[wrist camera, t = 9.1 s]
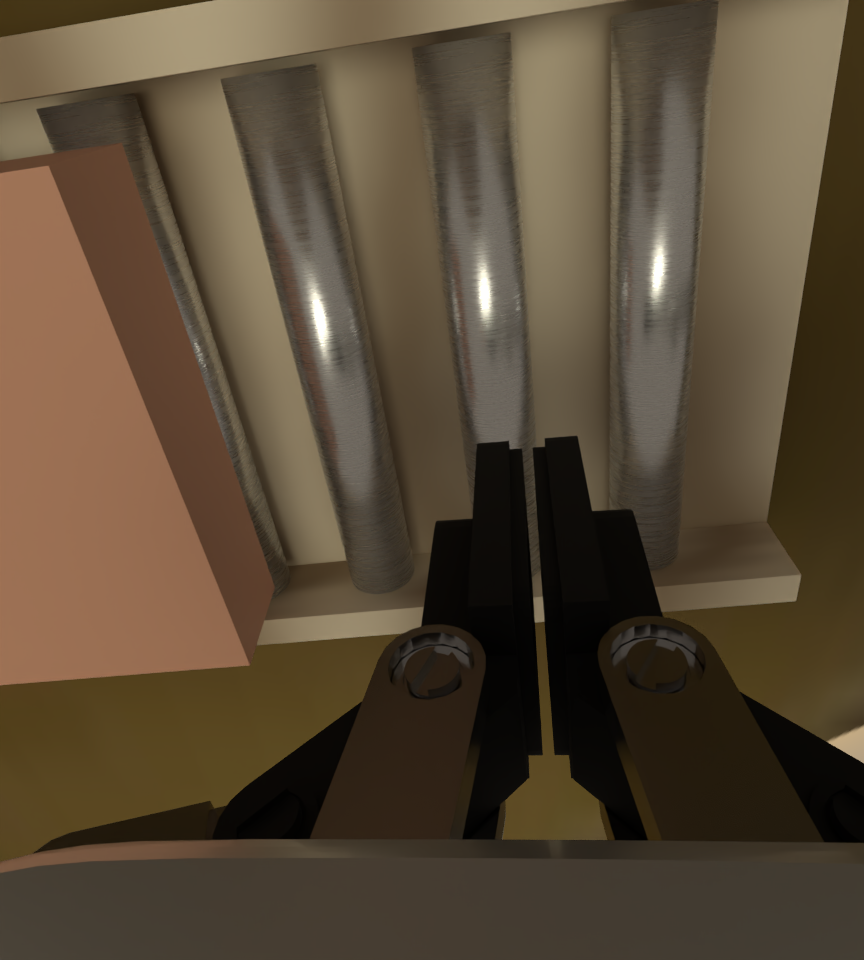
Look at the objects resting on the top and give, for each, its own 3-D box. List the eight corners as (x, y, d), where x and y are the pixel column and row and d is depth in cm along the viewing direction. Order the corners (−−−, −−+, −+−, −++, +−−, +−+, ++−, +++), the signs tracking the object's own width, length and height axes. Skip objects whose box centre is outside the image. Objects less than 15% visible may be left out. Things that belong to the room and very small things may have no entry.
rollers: (700, 0, 14) (734, -4, 12) (668, 525, 21) (686, 567, 20) (-402, 180, 17) (-499, 195, 15) (-95, 596, 24) (-136, 639, 22)
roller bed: (828, -88, 14) (942, -127, 11) (745, 519, 23) (796, 601, 20) (-481, 136, 17) (-703, 159, 14) (-123, 600, 26) (-209, 683, 23)
